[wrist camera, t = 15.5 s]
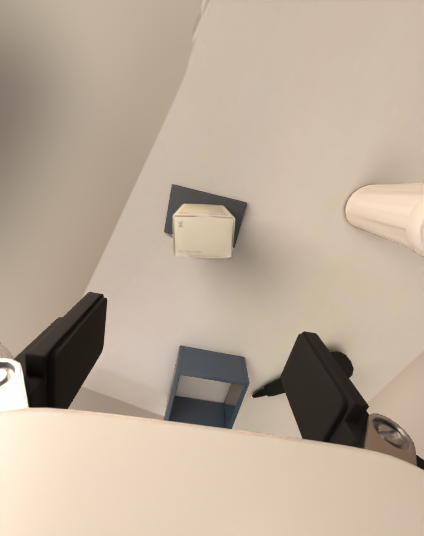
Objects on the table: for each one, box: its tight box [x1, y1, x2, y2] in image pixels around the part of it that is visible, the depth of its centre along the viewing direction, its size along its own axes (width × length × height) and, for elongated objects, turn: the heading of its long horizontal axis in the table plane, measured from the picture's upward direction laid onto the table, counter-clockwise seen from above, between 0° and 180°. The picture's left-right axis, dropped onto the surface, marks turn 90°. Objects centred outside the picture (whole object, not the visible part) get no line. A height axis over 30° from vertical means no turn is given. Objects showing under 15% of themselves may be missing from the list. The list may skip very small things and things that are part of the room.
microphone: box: [252, 352, 353, 398], centre depth 44 cm, size 6×6×20 cm
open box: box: [164, 346, 250, 429], centre depth 43 cm, size 13×14×6 cm
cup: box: [345, 183, 424, 257], centre depth 28 cm, size 8×8×14 cm
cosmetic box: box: [173, 204, 235, 258], centre depth 29 cm, size 6×4×12 cm
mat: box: [164, 184, 247, 248], centre depth 35 cm, size 11×7×1 cm, turn 77°
